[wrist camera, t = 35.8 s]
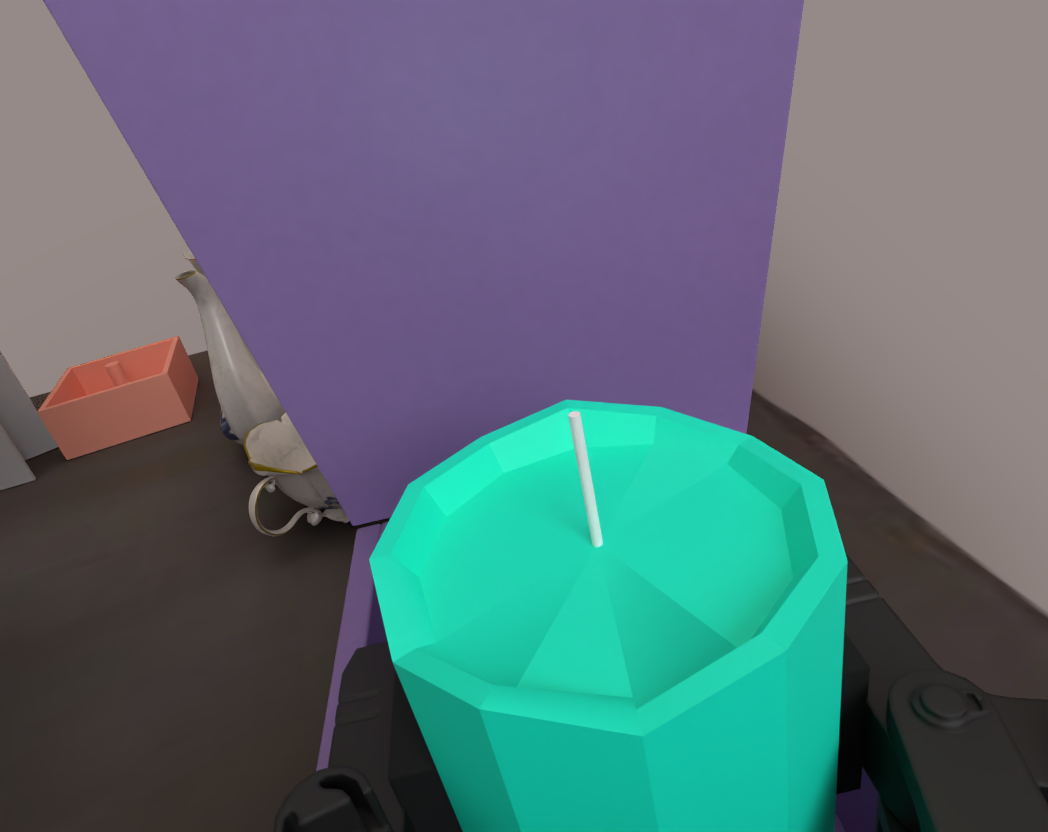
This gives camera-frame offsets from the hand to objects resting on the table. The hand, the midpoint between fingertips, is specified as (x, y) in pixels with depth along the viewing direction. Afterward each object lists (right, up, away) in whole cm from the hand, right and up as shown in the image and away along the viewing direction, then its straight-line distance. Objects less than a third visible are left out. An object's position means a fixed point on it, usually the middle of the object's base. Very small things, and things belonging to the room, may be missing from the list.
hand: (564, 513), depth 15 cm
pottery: (-29, +3, +42) cm, 51 cm away
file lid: (-1, +6, 0) cm, 6 cm away
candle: (+2, -8, -1) cm, 9 cm away
